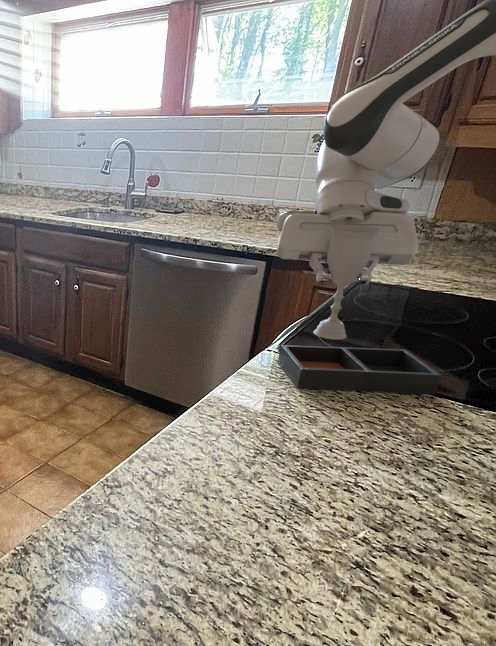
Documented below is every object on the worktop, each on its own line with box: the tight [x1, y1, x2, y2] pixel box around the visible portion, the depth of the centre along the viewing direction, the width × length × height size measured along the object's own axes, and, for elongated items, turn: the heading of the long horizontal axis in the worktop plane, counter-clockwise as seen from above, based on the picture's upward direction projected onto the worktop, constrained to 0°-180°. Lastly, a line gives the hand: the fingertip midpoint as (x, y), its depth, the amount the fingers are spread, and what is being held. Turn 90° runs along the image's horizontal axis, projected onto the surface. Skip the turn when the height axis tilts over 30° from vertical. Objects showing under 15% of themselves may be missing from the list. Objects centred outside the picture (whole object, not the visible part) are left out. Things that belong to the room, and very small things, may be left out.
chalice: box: [312, 225, 380, 341], centre depth 87 cm, size 7×7×18 cm
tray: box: [277, 344, 443, 396], centre depth 92 cm, size 21×11×4 cm, turn 81°
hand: (343, 281), depth 86 cm, fingers closed on chalice, 5 cm apart
